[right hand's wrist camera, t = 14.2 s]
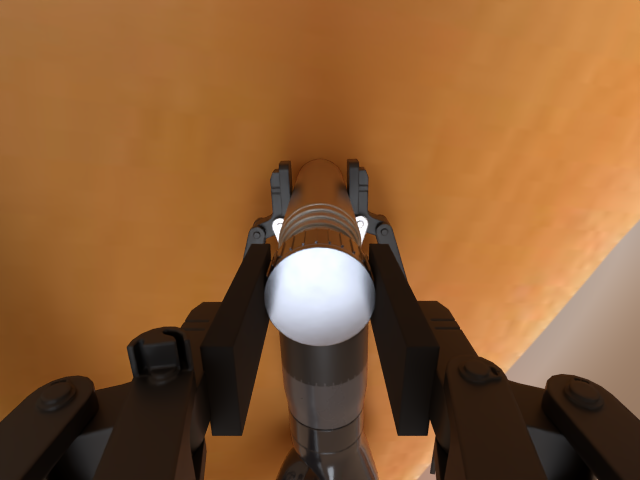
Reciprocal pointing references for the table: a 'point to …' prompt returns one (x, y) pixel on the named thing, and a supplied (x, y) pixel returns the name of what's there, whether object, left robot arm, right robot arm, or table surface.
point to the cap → (319, 288)
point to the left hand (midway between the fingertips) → (318, 162)
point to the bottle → (319, 203)
